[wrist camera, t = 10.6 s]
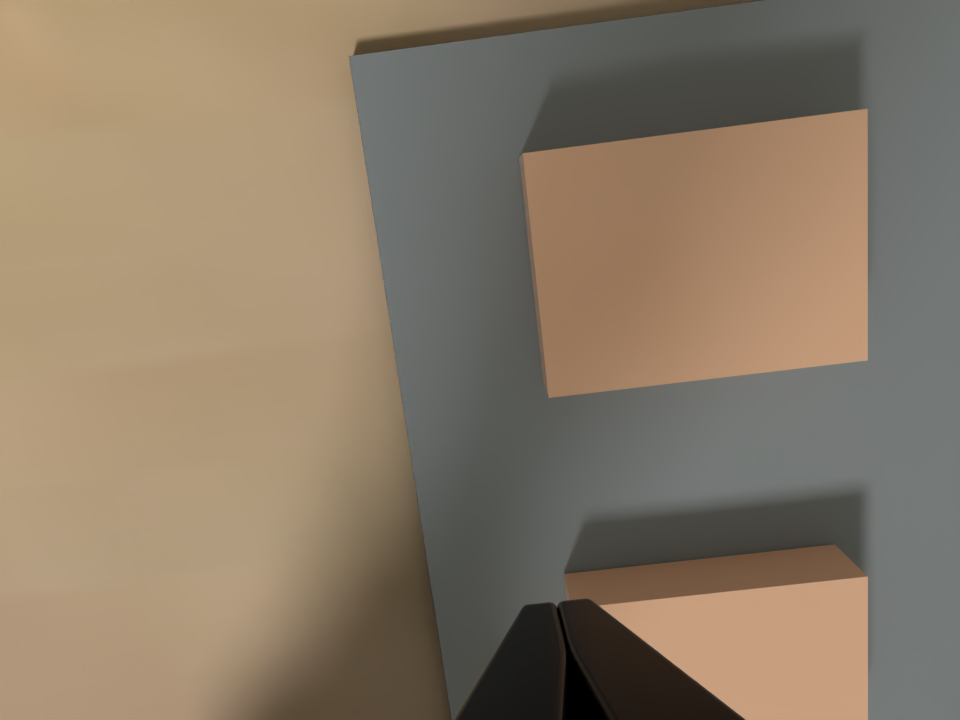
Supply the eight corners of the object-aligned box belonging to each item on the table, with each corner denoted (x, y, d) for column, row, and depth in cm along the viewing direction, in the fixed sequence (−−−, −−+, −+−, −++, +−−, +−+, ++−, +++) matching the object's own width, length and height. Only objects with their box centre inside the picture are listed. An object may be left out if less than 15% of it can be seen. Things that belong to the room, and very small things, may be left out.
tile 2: (542, 379, 19) (831, 345, 19) (548, 397, 18) (867, 360, 17) (519, 158, 18) (828, 118, 18) (522, 153, 16) (867, 108, 16)
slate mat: (954, 774, 23) (963, 784, 22) (469, 821, 23) (469, 832, 23) (980, -26, 17) (991, -31, 17) (351, 59, 18) (348, 56, 17)
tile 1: (582, 743, 22) (835, 717, 22) (590, 791, 20) (868, 764, 20) (563, 573, 21) (833, 543, 20) (571, 608, 19) (867, 576, 19)
